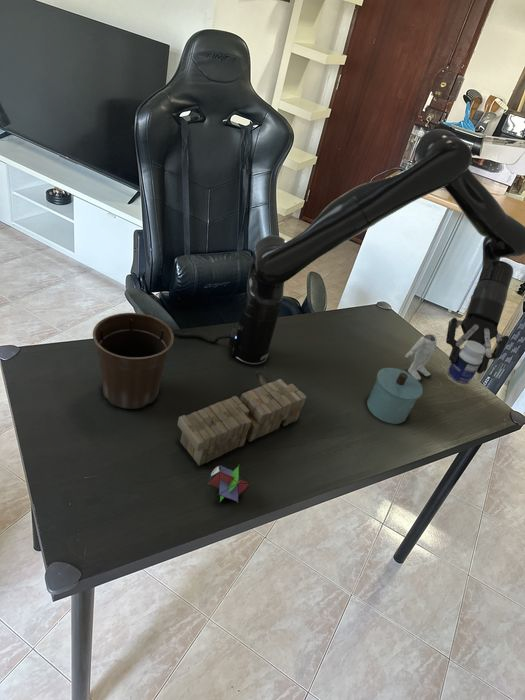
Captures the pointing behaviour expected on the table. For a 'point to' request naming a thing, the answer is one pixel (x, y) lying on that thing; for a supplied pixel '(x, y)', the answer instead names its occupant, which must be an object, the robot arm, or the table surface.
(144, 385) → the plant pot
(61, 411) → the table surface
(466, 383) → the pill bottle
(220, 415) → the block tower
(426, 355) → the toy creature
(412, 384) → the pot
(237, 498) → the geometric puzzle
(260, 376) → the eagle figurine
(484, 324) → the robot arm
